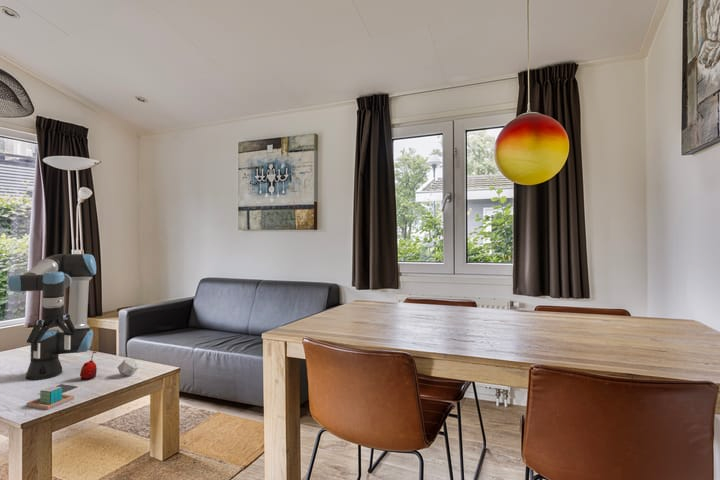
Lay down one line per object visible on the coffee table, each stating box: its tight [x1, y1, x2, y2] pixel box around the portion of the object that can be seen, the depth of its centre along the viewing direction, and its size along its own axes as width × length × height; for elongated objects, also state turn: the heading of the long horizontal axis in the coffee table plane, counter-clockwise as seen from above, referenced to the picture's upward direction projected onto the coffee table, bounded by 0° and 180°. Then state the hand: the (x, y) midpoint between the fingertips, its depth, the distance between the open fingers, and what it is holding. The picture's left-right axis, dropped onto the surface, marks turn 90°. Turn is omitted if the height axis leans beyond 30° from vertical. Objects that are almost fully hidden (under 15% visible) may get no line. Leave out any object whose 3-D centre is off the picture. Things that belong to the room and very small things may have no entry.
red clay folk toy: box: [79, 349, 98, 381], centre depth 205 cm, size 8×7×15 cm
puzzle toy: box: [39, 385, 62, 404], centre depth 175 cm, size 6×6×6 cm
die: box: [117, 358, 139, 377], centre depth 211 cm, size 8×9×10 cm
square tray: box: [26, 394, 75, 411], centre depth 175 cm, size 12×12×1 cm
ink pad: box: [55, 383, 82, 395], centre depth 187 cm, size 12×10×1 cm
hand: (52, 353), depth 175 cm, fingers open, 13 cm apart
